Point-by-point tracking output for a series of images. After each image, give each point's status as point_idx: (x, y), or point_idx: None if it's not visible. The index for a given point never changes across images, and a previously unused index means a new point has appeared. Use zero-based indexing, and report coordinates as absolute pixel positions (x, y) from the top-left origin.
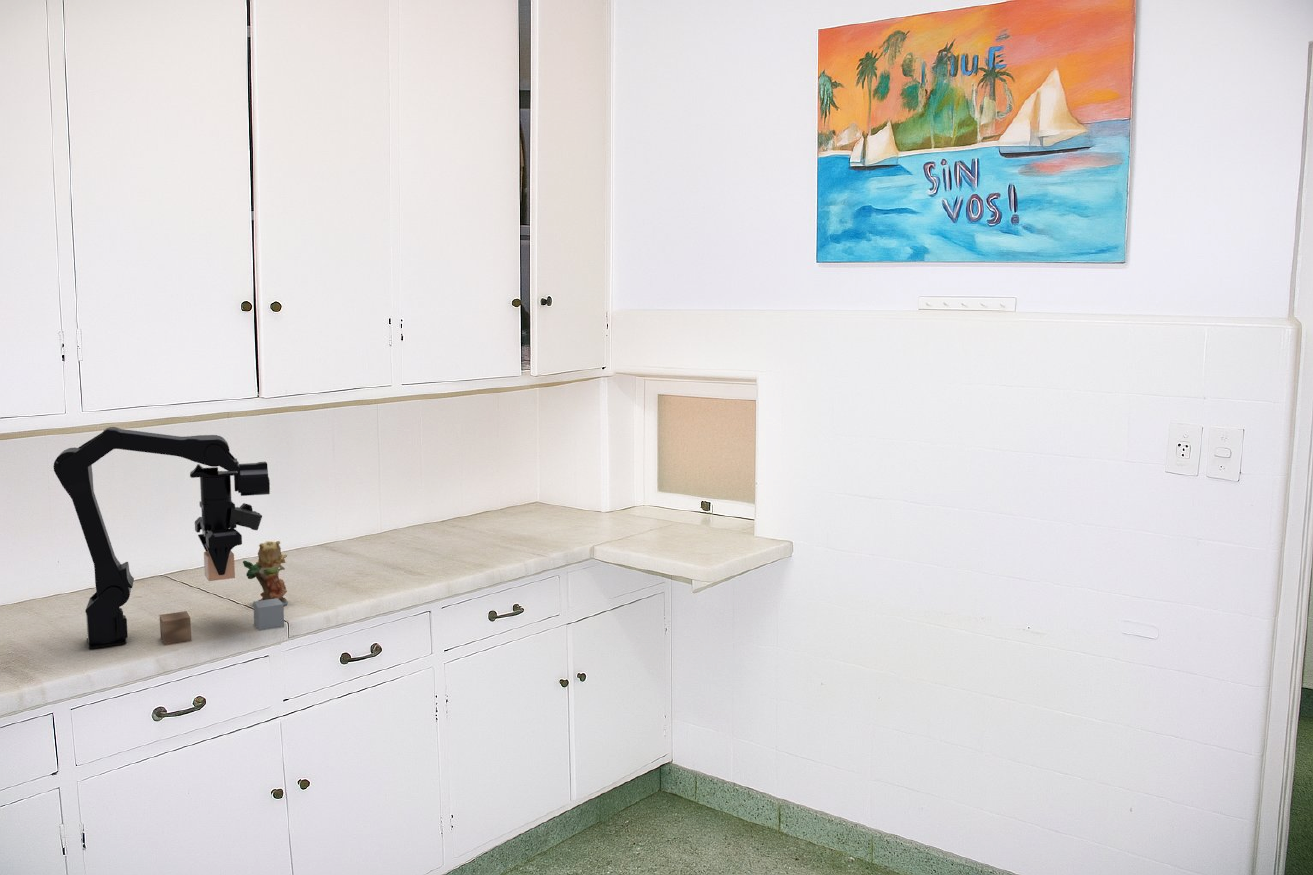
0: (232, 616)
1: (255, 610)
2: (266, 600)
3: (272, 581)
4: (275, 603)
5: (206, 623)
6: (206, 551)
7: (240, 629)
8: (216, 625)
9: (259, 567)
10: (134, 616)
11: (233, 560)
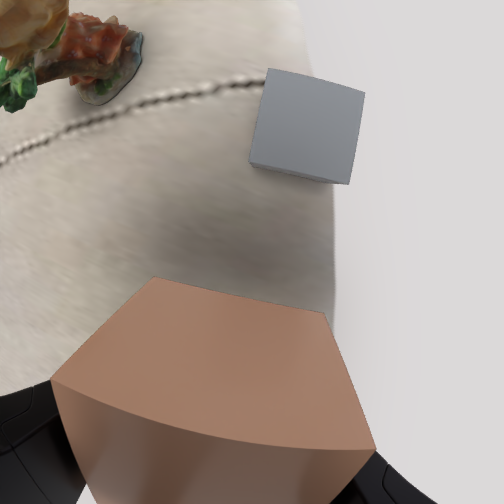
0: (134, 190)
1: (285, 170)
2: (269, 113)
3: (81, 38)
4: (337, 107)
5: (154, 273)
6: (82, 490)
7: (277, 221)
8: (189, 259)
9: (30, 62)
10: (42, 353)
11: (352, 402)
